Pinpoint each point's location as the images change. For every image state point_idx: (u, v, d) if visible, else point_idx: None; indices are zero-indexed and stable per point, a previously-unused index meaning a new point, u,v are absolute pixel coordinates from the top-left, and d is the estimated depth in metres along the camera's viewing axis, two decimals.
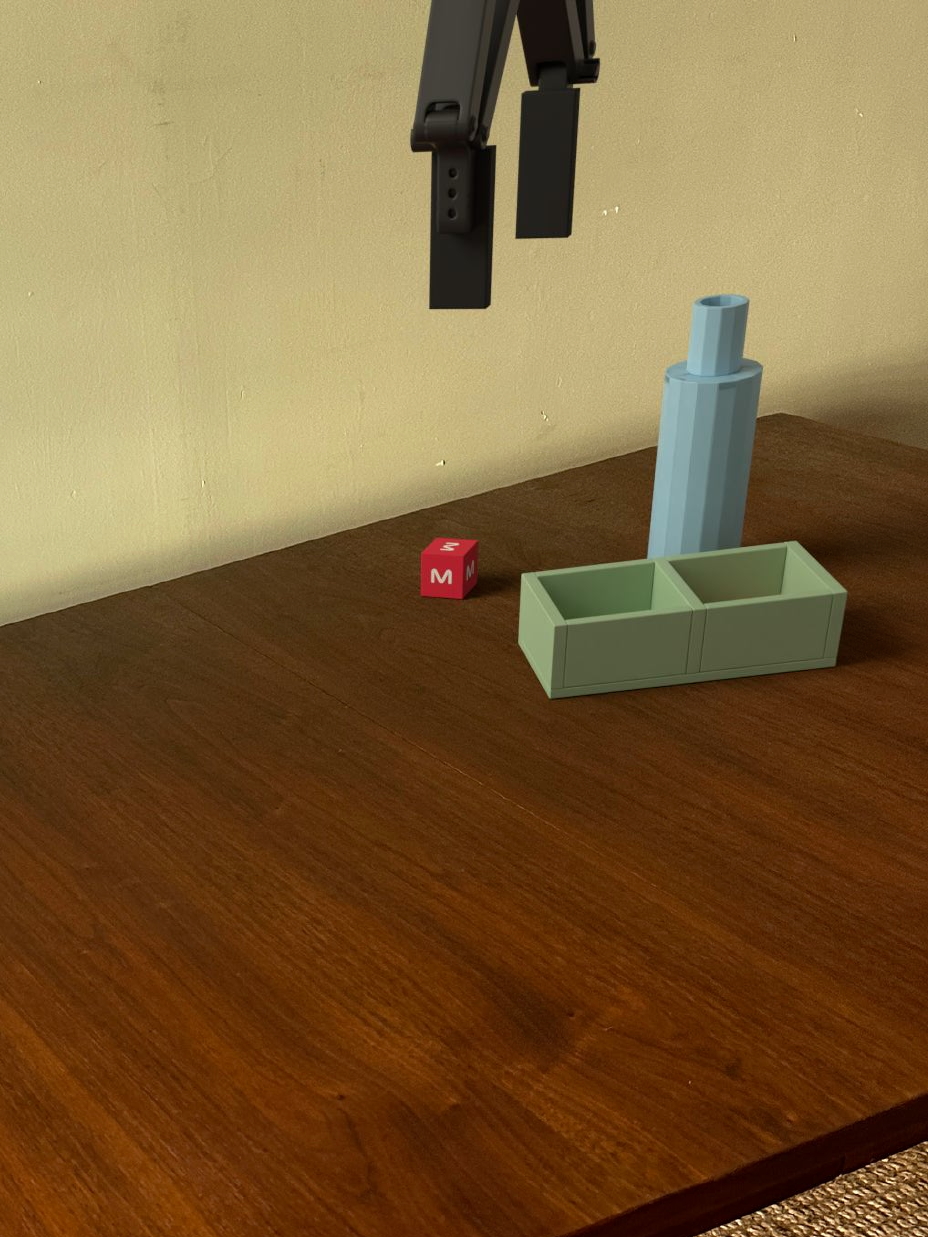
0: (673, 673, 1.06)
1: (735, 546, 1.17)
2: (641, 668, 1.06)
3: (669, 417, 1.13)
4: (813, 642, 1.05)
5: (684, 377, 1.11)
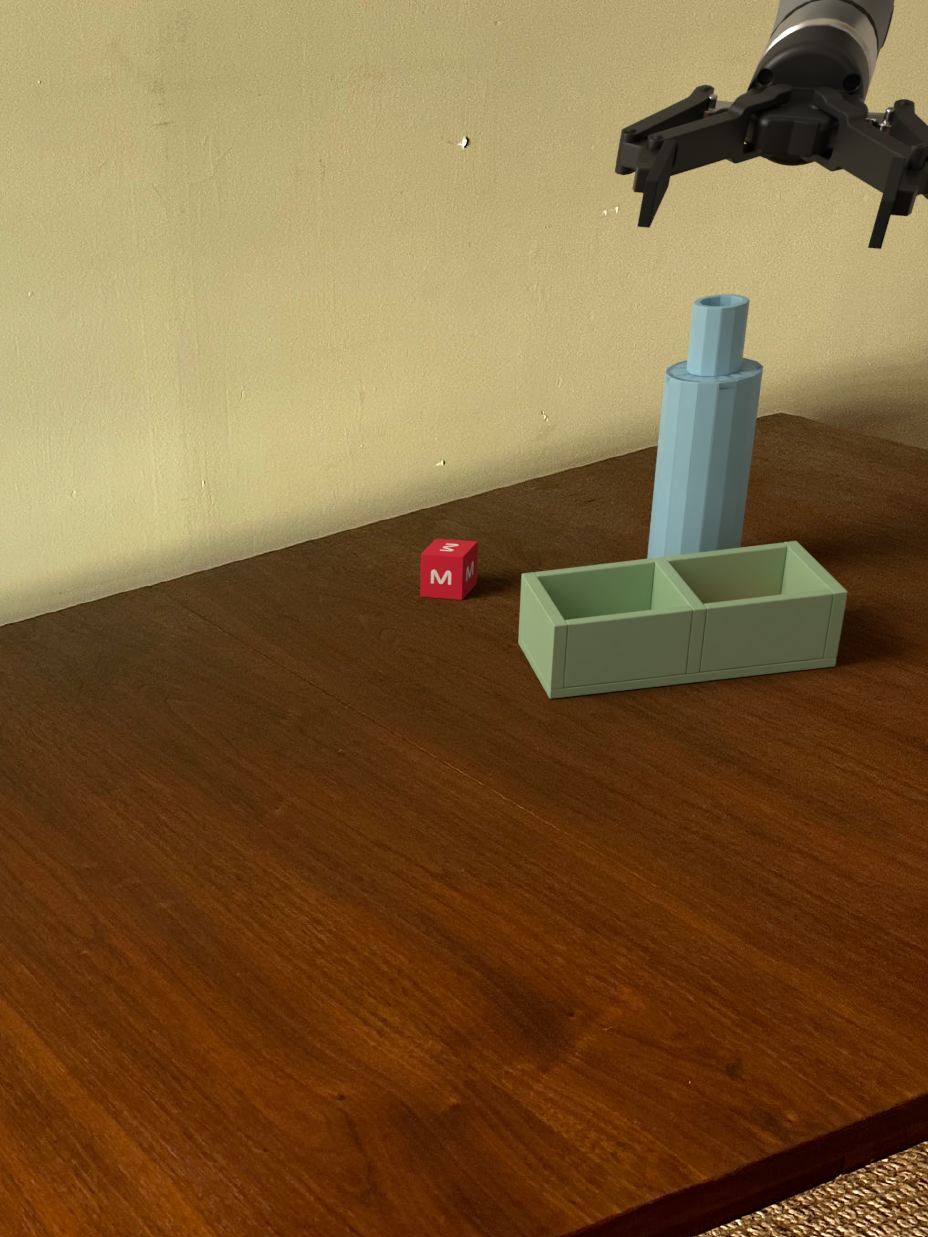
0: (673, 673, 1.06)
1: (735, 546, 1.17)
2: (641, 668, 1.06)
3: (669, 417, 1.13)
4: (813, 642, 1.05)
5: (684, 377, 1.11)
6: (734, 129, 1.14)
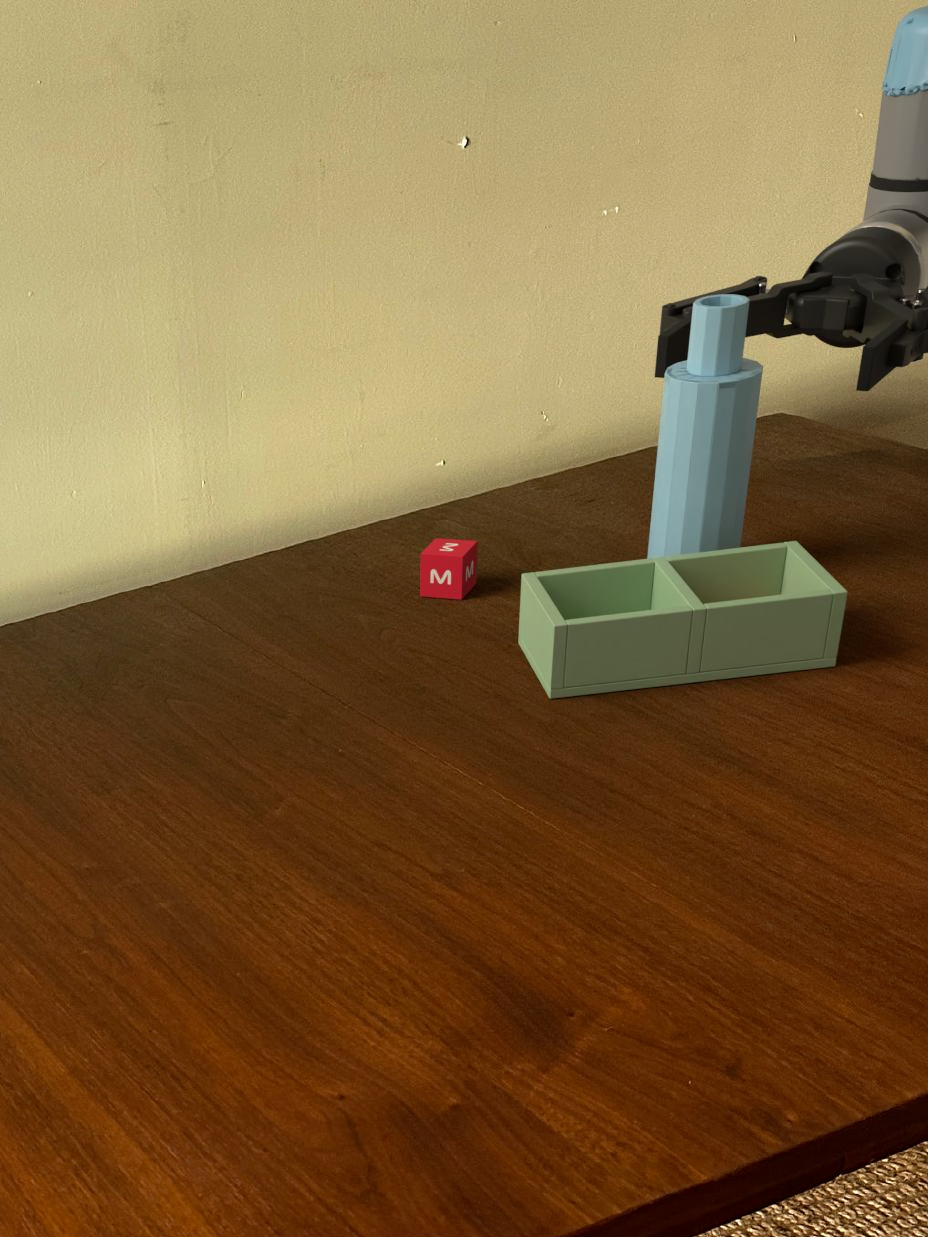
0: (673, 673, 1.06)
1: (735, 546, 1.17)
2: (641, 668, 1.06)
3: (669, 417, 1.13)
4: (813, 642, 1.05)
5: (684, 377, 1.11)
6: (771, 307, 1.26)
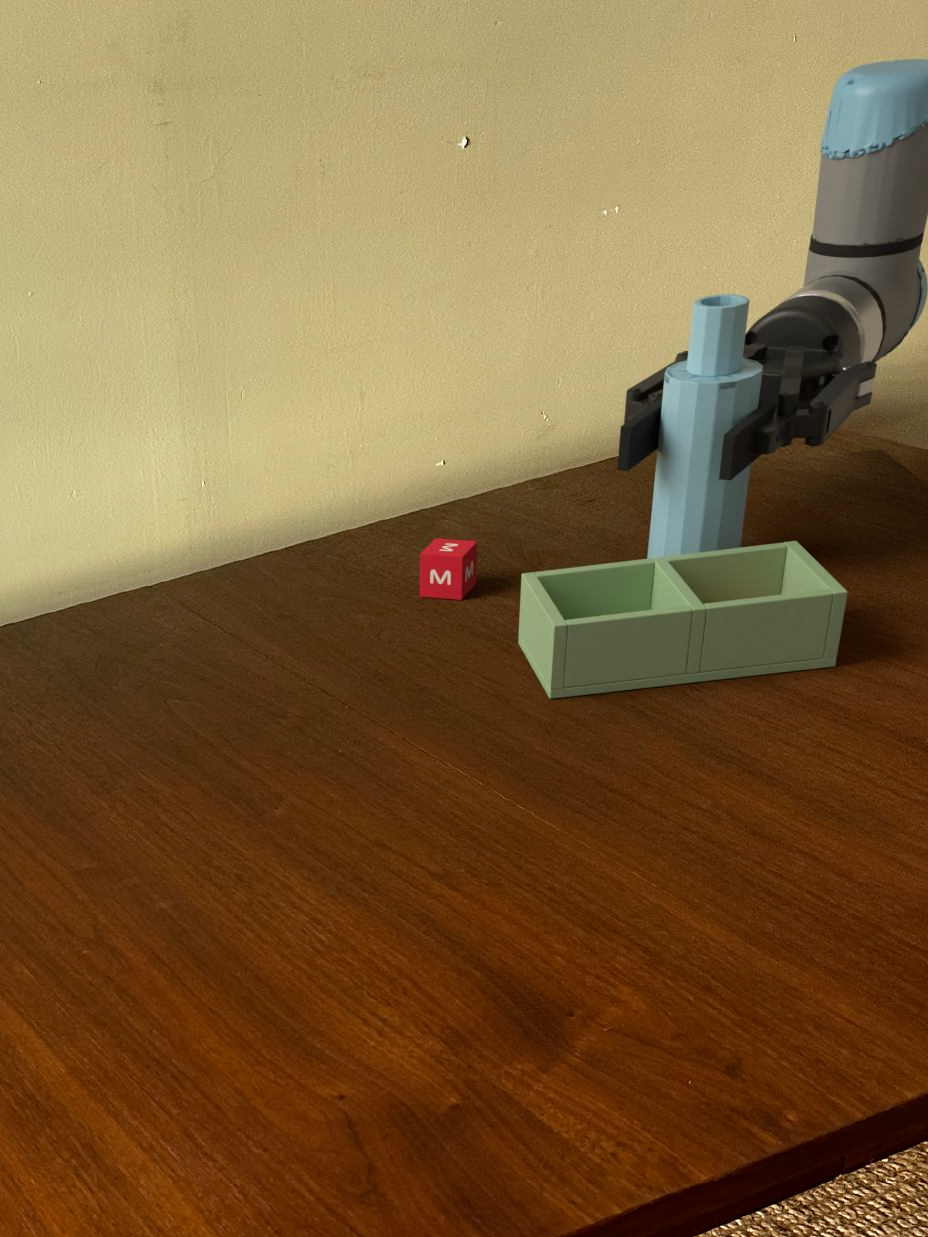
0: (673, 673, 1.06)
1: (735, 546, 1.17)
2: (641, 668, 1.06)
3: (669, 417, 1.13)
4: (813, 642, 1.05)
5: (684, 377, 1.11)
6: None
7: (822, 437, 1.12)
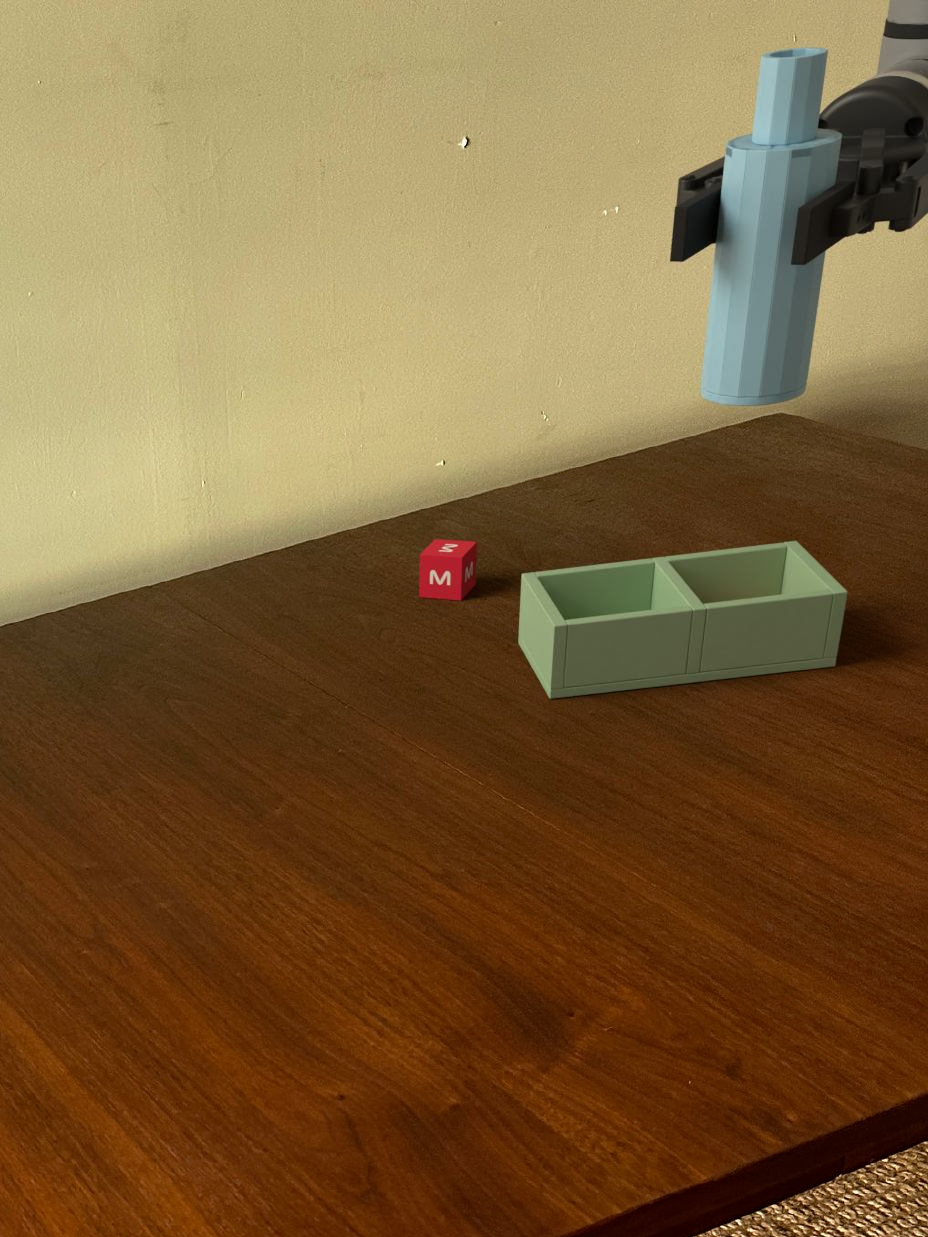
0: (673, 673, 1.06)
1: (805, 356, 1.00)
2: (641, 668, 1.06)
3: (731, 197, 0.96)
4: (813, 642, 1.05)
5: (750, 147, 0.95)
6: None
7: (910, 220, 0.96)
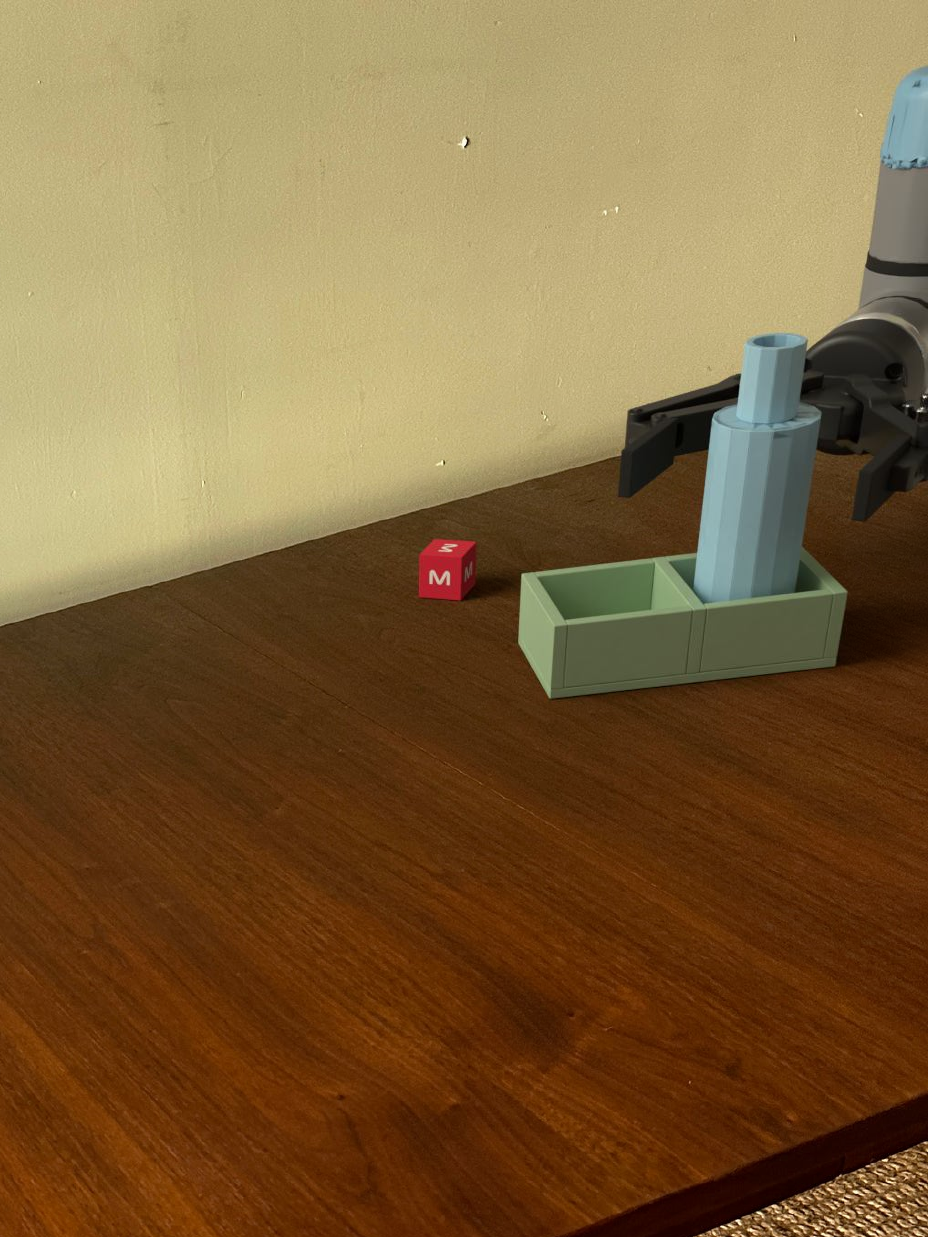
0: (673, 673, 1.06)
1: None
2: (641, 668, 1.06)
3: (717, 468, 1.02)
4: (813, 642, 1.05)
5: (734, 424, 1.00)
6: None
7: None
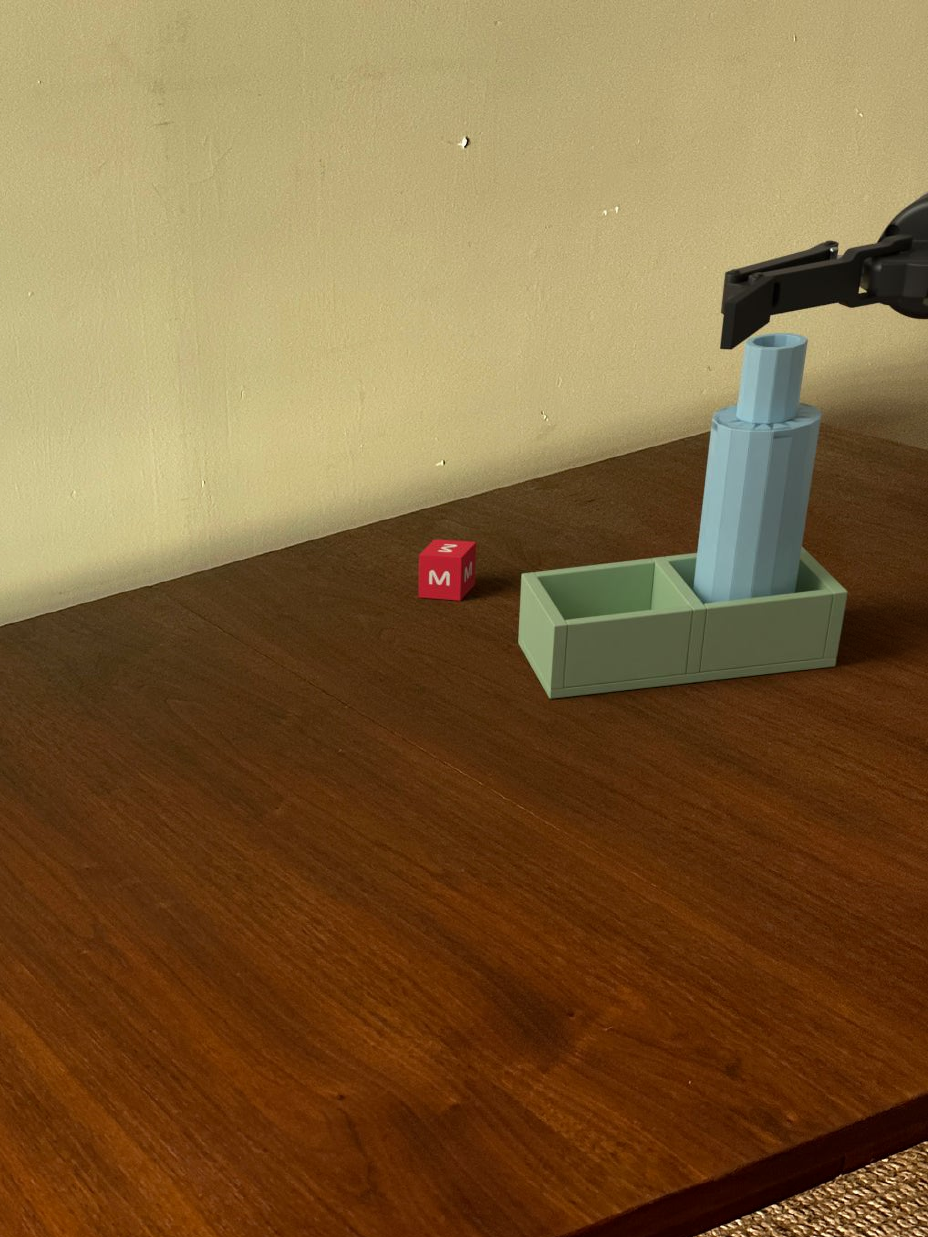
0: (673, 673, 1.06)
1: None
2: (641, 668, 1.06)
3: (717, 468, 1.02)
4: (813, 642, 1.05)
5: (734, 424, 1.00)
6: (846, 273, 1.14)
7: None
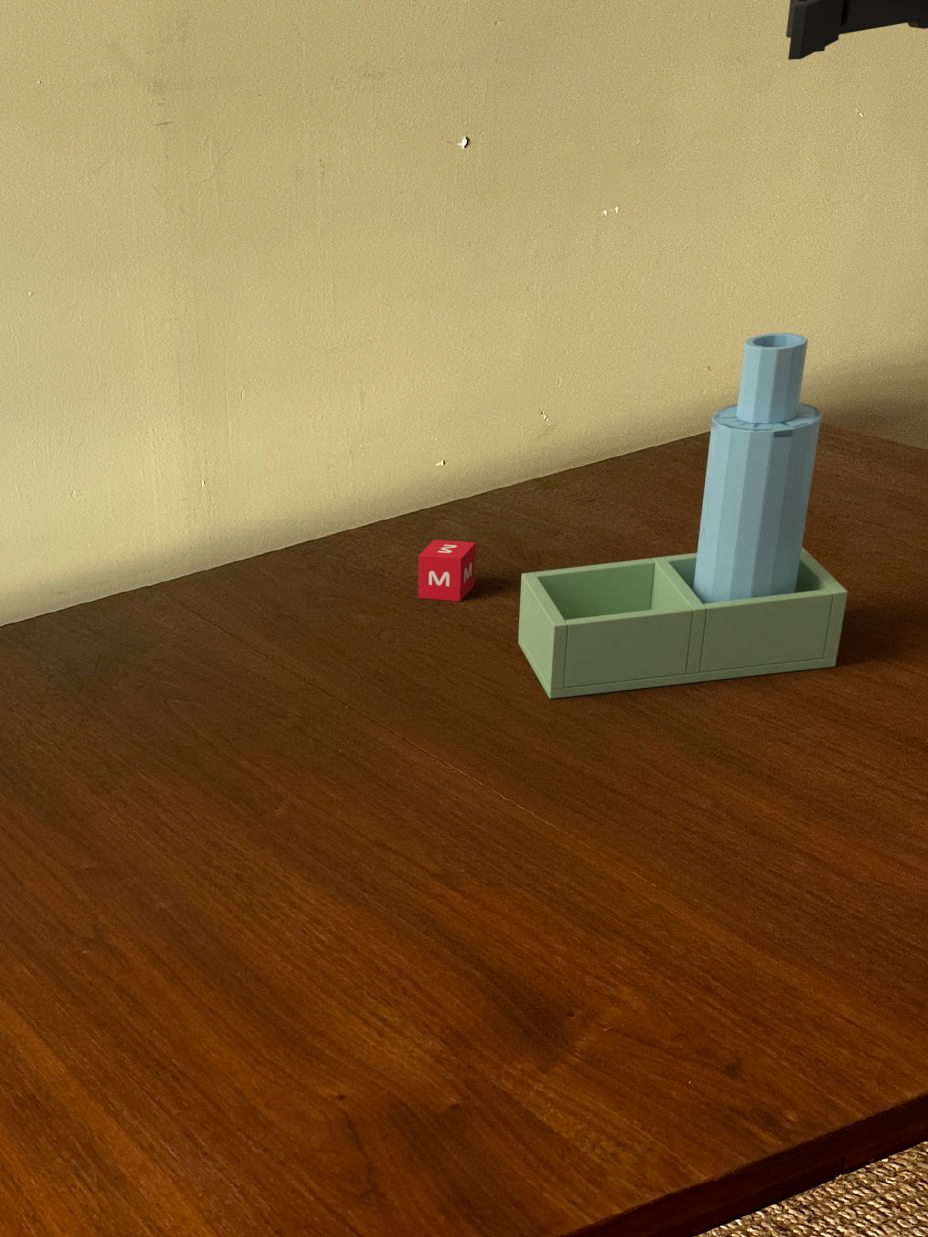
0: (673, 673, 1.06)
1: None
2: (641, 668, 1.06)
3: (717, 468, 1.02)
4: (813, 642, 1.05)
5: (734, 424, 1.00)
6: None
7: None
